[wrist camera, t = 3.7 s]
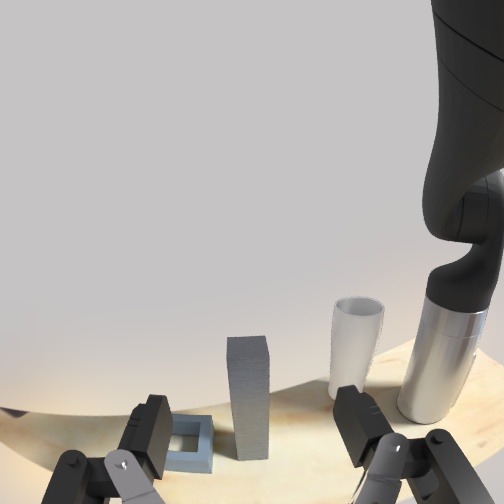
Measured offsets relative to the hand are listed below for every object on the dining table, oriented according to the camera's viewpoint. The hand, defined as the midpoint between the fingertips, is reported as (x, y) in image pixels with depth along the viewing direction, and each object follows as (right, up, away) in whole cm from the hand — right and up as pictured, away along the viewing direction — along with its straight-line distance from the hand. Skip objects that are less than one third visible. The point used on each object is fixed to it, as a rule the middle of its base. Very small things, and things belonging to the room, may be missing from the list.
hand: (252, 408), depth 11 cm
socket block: (-8, -17, +15) cm, 24 cm away
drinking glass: (+14, -14, +24) cm, 32 cm away
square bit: (0, -17, +15) cm, 23 cm away
